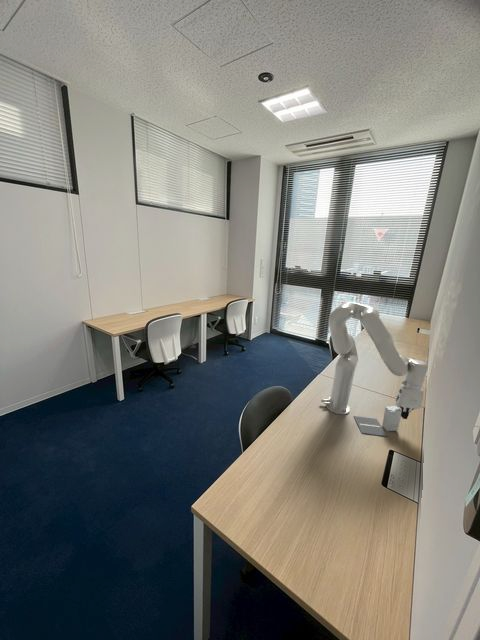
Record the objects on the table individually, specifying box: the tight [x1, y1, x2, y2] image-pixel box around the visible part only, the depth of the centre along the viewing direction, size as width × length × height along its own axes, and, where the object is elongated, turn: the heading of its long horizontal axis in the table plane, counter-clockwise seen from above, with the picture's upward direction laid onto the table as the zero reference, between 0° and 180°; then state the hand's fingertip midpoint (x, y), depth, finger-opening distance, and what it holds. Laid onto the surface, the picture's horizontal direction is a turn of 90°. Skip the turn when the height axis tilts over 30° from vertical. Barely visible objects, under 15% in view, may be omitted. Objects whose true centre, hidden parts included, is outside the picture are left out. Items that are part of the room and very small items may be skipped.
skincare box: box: [381, 405, 402, 432], centre depth 132 cm, size 6×4×12 cm
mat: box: [353, 415, 388, 438], centre depth 134 cm, size 12×13×1 cm
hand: (403, 417), depth 131 cm, fingers closed
